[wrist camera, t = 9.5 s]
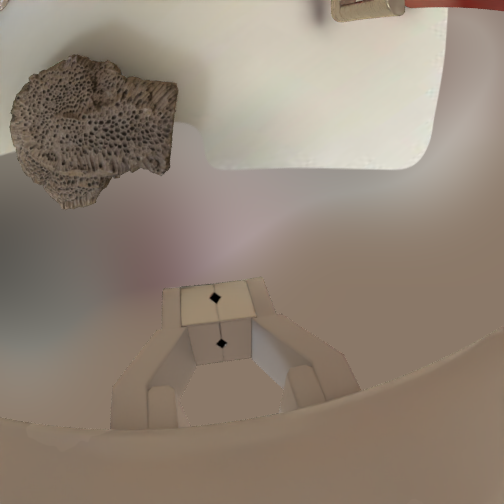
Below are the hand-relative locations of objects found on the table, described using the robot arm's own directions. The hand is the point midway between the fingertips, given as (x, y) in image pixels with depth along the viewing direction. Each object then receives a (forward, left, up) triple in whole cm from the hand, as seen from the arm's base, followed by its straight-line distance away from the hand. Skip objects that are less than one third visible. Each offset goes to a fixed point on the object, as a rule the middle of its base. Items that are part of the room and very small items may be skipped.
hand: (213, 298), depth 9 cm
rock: (-9, +2, -17) cm, 19 cm away
